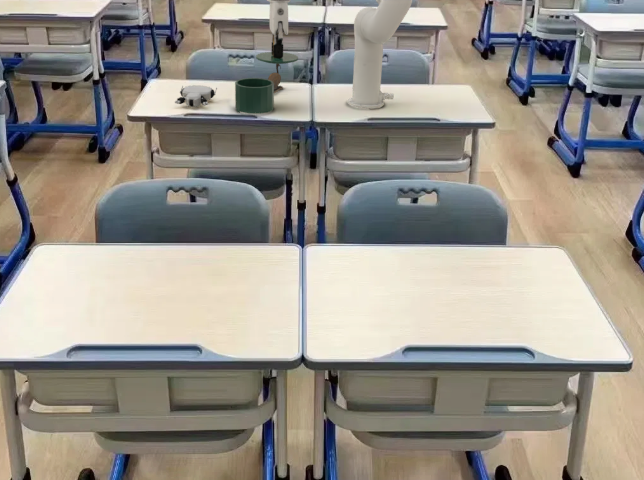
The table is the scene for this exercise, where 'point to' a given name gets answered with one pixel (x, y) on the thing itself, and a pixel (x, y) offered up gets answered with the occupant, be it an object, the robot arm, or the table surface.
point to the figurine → (276, 79)
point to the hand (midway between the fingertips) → (277, 55)
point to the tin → (254, 95)
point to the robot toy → (196, 95)
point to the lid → (270, 59)
